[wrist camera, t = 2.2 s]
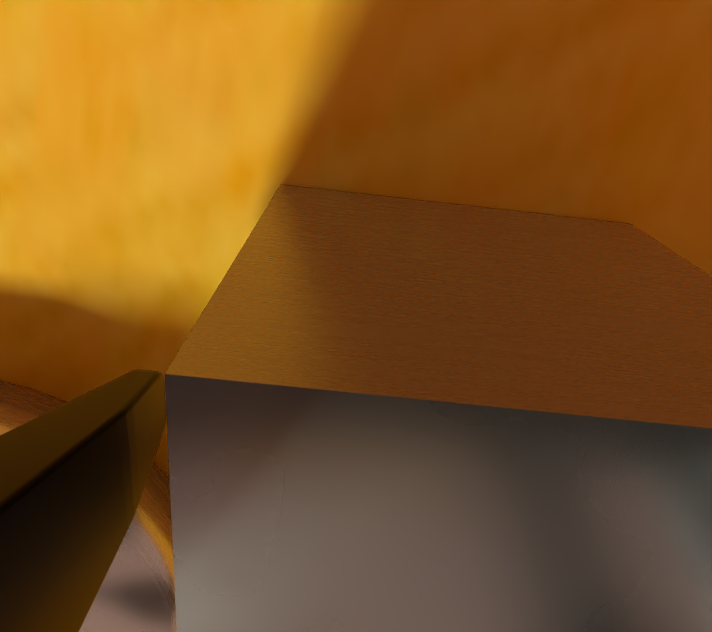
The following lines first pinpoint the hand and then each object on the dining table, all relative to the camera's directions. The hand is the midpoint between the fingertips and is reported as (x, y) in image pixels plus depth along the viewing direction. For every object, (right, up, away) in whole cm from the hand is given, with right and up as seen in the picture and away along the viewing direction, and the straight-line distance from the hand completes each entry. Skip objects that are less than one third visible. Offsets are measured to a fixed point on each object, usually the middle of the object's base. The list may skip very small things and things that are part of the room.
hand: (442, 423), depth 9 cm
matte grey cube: (0, +1, +2) cm, 2 cm away
